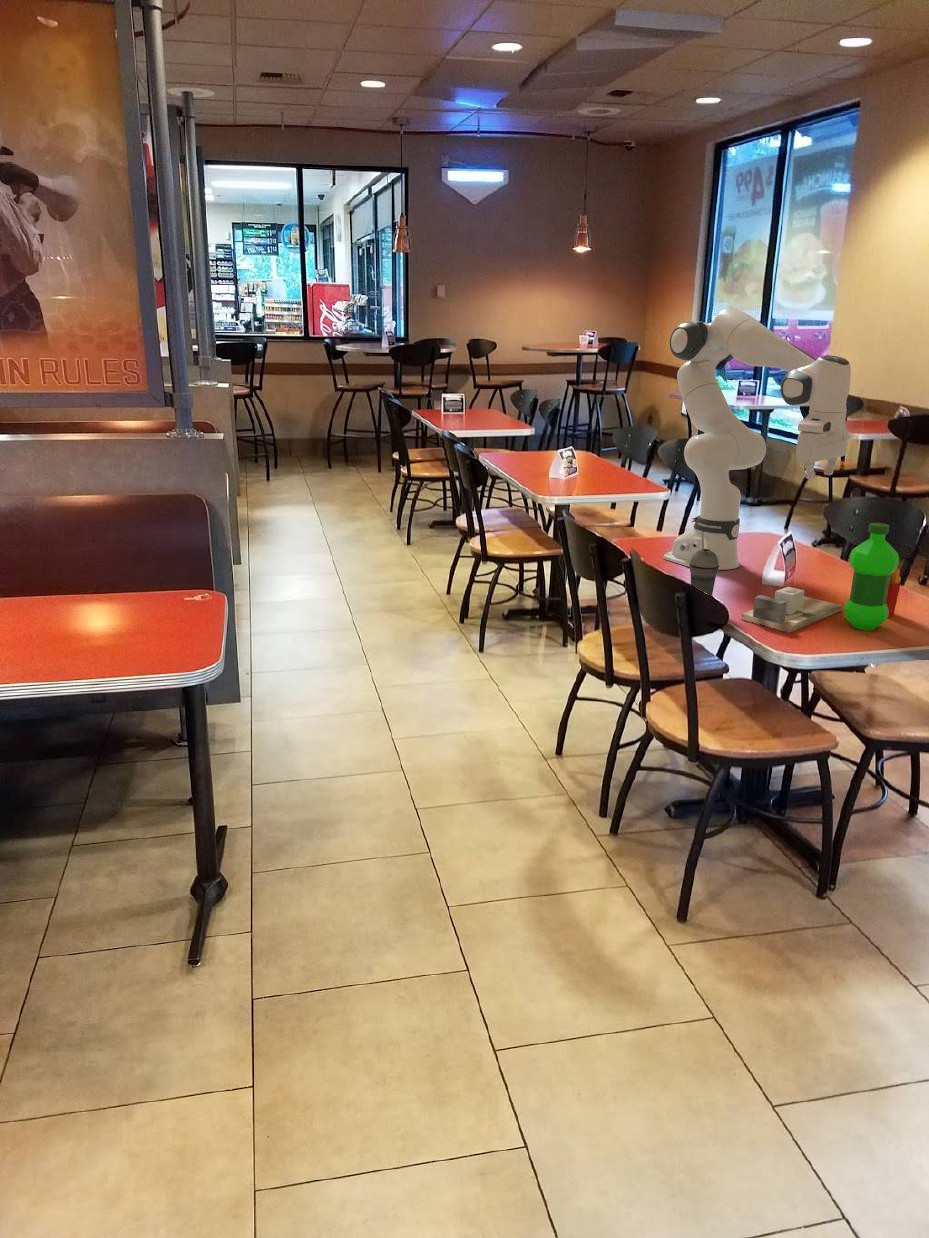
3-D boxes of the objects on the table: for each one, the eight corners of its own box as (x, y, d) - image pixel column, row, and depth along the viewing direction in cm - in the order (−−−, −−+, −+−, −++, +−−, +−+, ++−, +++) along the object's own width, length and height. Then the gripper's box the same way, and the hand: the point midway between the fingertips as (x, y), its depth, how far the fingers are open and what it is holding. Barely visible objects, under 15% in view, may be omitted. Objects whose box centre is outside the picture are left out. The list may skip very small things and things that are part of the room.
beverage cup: (707, 615, 227) (715, 536, 221) (680, 609, 232) (687, 532, 225) (719, 608, 233) (727, 531, 227) (692, 602, 237) (699, 527, 231)
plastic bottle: (834, 627, 219) (848, 525, 211) (851, 617, 227) (865, 517, 219) (877, 636, 213) (893, 531, 205) (893, 626, 220) (909, 524, 212)
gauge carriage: (766, 613, 224) (769, 592, 222) (785, 605, 229) (788, 585, 228) (797, 621, 218) (800, 599, 216) (816, 613, 224) (819, 592, 222)
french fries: (898, 617, 227) (906, 570, 223) (883, 618, 226) (891, 571, 222) (879, 607, 235) (886, 561, 231) (865, 607, 234) (872, 562, 230)
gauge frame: (741, 619, 225) (743, 594, 222) (793, 599, 240) (796, 575, 238) (789, 632, 215) (793, 606, 213) (840, 610, 231) (844, 586, 229)
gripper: (834, 418, 241) (827, 470, 246) (794, 424, 228) (788, 479, 233) (857, 420, 237) (849, 474, 241) (818, 426, 224) (811, 483, 228)
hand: (819, 476), depth 237 cm, fingers open, 8 cm apart
